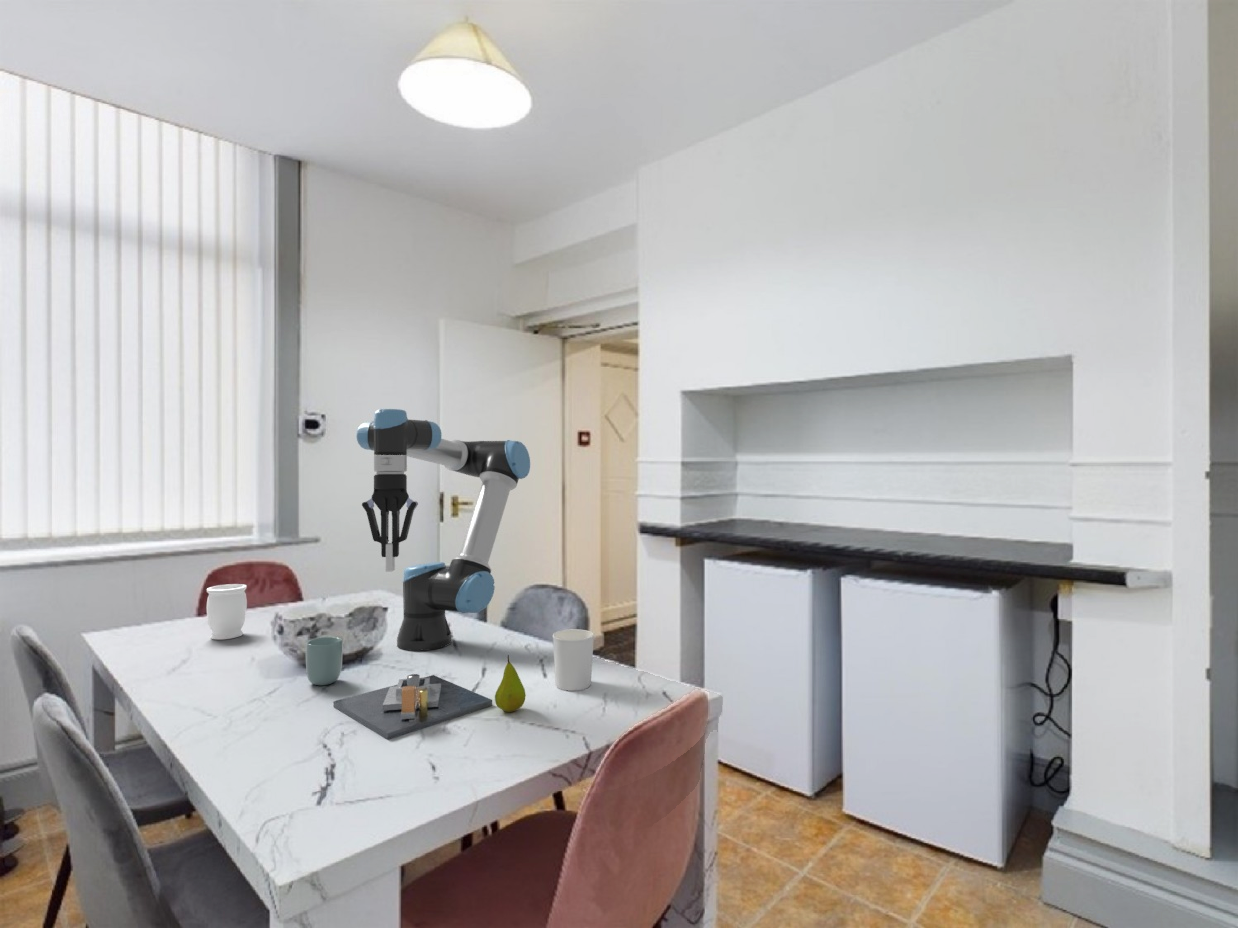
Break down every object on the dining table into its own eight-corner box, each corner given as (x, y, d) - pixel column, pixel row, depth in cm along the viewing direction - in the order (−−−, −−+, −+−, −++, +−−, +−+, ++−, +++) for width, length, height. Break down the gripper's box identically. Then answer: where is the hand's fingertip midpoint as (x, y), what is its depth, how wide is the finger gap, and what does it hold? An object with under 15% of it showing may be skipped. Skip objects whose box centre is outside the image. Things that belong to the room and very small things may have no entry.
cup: (328, 689, 151) (328, 646, 151) (298, 687, 152) (298, 644, 152) (348, 678, 158) (348, 637, 158) (320, 676, 160) (320, 635, 160)
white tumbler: (543, 685, 154) (543, 634, 154) (574, 675, 161) (574, 626, 161) (572, 695, 147) (572, 642, 147) (602, 684, 155) (602, 634, 155)
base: (433, 679, 158) (433, 652, 158) (492, 705, 141) (492, 675, 141) (333, 706, 140) (333, 676, 140) (387, 739, 124) (387, 705, 124)
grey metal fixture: (389, 692, 145) (389, 666, 145) (441, 688, 147) (441, 663, 147) (378, 720, 129) (378, 692, 129) (436, 716, 131) (436, 688, 131)
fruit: (524, 704, 142) (525, 649, 142) (525, 715, 136) (525, 657, 136) (495, 705, 141) (495, 650, 141) (494, 716, 135) (494, 658, 135)
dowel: (424, 713, 133) (424, 688, 133) (428, 715, 132) (428, 690, 132) (417, 715, 132) (417, 690, 132) (421, 717, 131) (421, 692, 131)
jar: (233, 641, 191) (233, 590, 191) (198, 641, 191) (198, 590, 191) (254, 631, 202) (254, 583, 202) (220, 631, 202) (220, 583, 202)
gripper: (358, 473, 153) (357, 573, 153) (415, 473, 155) (414, 572, 155) (366, 472, 161) (366, 568, 161) (420, 472, 162) (420, 567, 162)
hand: (390, 570), depth 158 cm, fingers closed
